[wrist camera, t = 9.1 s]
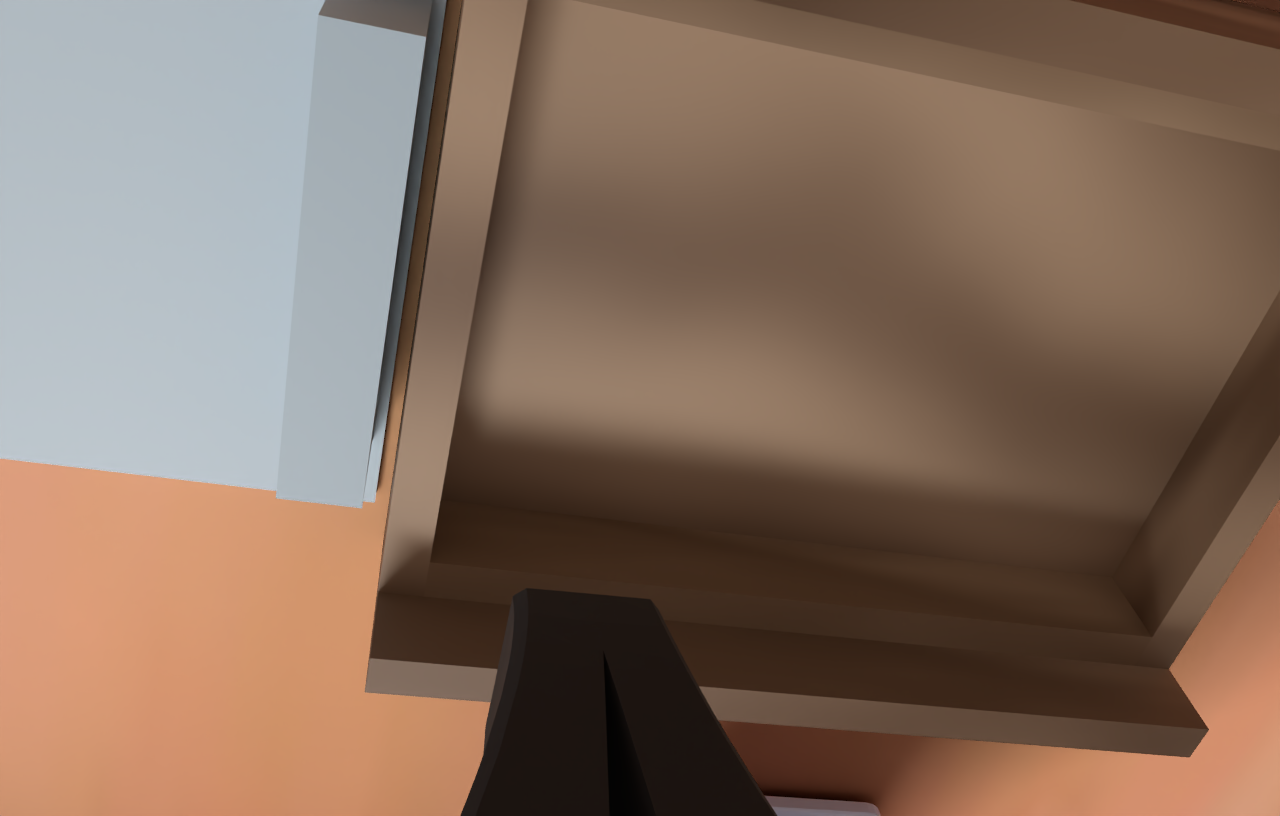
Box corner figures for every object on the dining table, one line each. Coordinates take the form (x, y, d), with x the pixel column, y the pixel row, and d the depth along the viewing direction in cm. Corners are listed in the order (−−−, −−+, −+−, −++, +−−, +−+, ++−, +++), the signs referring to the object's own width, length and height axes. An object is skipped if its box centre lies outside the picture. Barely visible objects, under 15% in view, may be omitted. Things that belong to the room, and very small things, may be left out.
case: (1099, 616, 26) (1189, 756, 23) (383, 539, 23) (365, 692, 19) (1434, 49, 19) (1630, 132, 16) (487, -180, 16) (486, -137, 13)
